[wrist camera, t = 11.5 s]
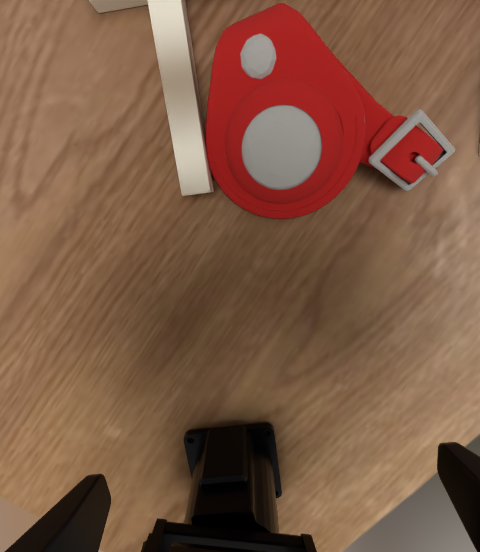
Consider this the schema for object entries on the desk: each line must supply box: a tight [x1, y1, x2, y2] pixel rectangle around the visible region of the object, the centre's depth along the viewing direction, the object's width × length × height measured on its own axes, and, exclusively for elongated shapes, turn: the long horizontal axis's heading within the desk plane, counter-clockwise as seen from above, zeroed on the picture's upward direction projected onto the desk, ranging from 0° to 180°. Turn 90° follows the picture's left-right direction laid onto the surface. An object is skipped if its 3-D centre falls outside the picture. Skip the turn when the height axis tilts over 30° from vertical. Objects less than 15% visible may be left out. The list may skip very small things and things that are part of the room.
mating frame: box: [88, 0, 480, 196], centre depth 14 cm, size 12×25×3 cm, turn 98°
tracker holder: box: [206, 3, 455, 219], centre depth 16 cm, size 12×4×10 cm
